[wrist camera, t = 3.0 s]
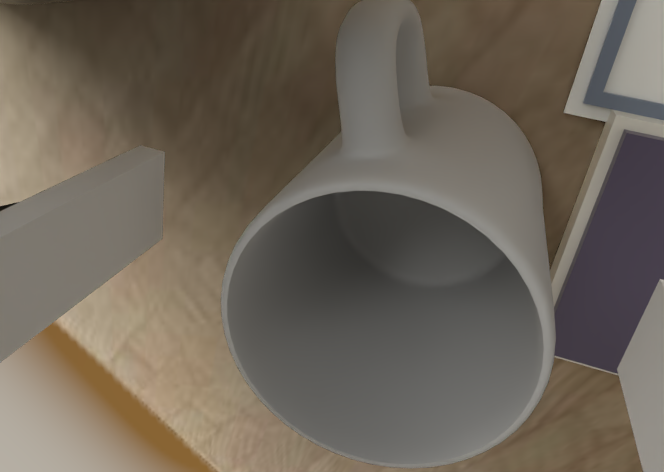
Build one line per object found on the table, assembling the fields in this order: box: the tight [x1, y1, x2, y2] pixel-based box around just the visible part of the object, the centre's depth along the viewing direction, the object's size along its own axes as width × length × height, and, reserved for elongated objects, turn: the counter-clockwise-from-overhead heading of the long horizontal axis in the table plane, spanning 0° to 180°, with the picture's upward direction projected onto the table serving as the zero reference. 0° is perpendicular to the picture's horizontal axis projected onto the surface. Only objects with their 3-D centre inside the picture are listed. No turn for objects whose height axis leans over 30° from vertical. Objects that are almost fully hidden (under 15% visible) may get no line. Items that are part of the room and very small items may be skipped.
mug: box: [221, 0, 556, 468], centre depth 19 cm, size 12×8×11 cm
